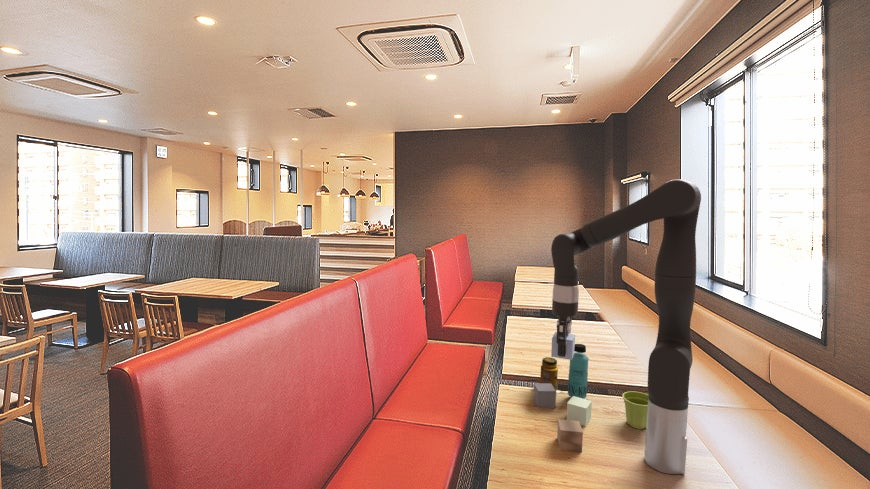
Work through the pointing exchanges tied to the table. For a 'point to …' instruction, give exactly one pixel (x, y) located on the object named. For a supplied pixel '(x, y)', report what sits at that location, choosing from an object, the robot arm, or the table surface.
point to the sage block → (579, 410)
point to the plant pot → (636, 408)
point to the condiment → (549, 372)
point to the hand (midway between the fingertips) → (563, 352)
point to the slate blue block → (569, 347)
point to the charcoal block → (544, 395)
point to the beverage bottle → (578, 373)
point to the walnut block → (569, 435)
